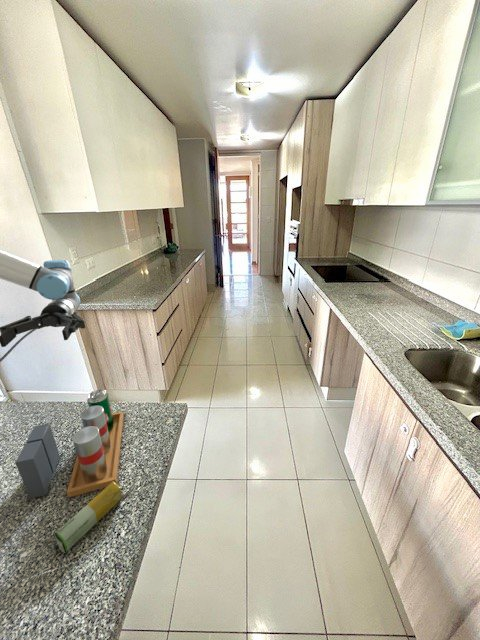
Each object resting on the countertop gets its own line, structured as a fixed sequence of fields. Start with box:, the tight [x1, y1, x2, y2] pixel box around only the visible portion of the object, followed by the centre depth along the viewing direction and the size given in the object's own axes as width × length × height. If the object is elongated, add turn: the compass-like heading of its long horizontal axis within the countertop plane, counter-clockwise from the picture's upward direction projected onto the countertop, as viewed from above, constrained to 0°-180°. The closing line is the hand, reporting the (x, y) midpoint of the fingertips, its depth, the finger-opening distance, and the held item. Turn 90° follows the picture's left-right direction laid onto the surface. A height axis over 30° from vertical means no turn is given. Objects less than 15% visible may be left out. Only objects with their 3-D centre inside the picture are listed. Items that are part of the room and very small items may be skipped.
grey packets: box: [15, 422, 60, 500], centre depth 59 cm, size 10×3×11 cm, turn 19°
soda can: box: [86, 388, 114, 432], centre depth 72 cm, size 5×5×12 cm
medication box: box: [53, 481, 123, 554], centre depth 51 cm, size 12×3×4 cm, turn 149°
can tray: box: [66, 411, 125, 498], centre depth 68 cm, size 24×10×2 cm, turn 19°
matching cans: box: [72, 406, 111, 483], centre depth 62 cm, size 13×5×12 cm, turn 19°
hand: (34, 338), depth 67 cm, fingers open, 13 cm apart
